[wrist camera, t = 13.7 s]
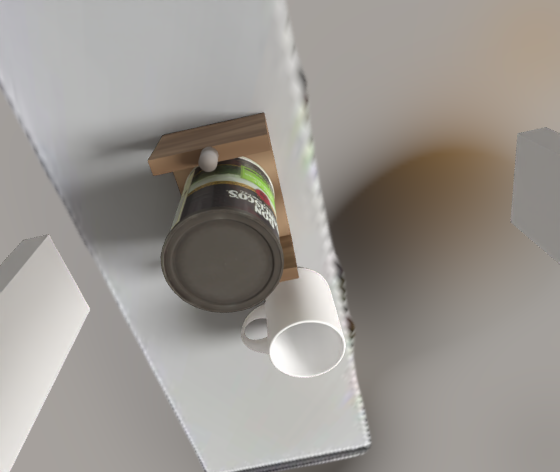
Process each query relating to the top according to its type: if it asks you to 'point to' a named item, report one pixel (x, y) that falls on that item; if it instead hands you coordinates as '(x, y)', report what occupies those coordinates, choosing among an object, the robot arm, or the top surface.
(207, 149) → the cradle
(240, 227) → the coffee can
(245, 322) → the mug
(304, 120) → the top surface
